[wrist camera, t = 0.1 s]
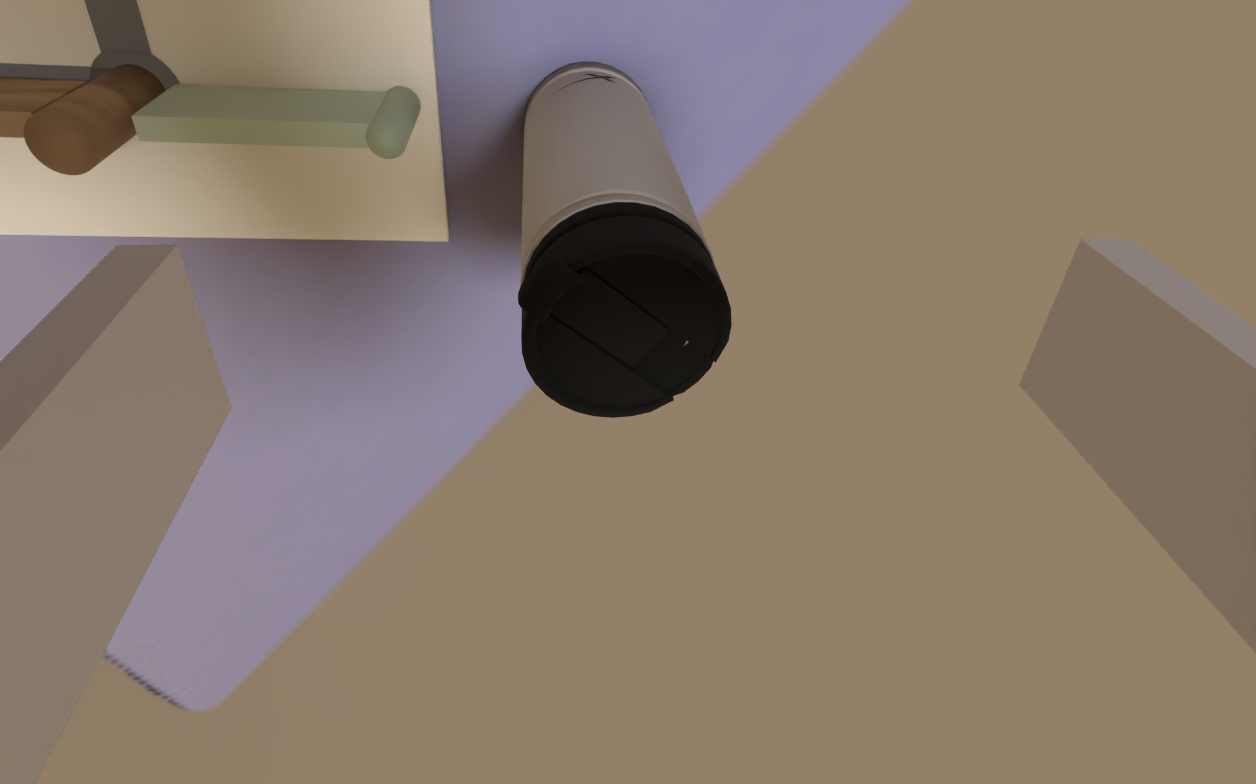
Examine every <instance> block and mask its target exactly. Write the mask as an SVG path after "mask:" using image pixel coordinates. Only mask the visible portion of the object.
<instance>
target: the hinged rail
mask: <svg viewBox="0 0 1256 784" xmlns="http://www.w3.org/2000/svg"><path fill="white" fill-rule="evenodd" d="M420 110H421V103H420V100H419V98H418V96H417V94H416V93H415V92H414V91H413V90H411V89H409V88H407V87H404V86H397V87H394V88H392V89H390V90H389V91H388V92H364V91H338V90H312V89H285V88H259V87H233V86H207V85H181V84H175V85H173V86H172V87H171V88H169V89H168V90H166V91H165V92H164V93H162V94H161V95H159V96H158V97H157V98H155V99H154V100H152V101H151V102H150V103H148V104H147V105H145V106H144V107H143V108H141V109H140V110H139V111H137V112H136V113H134V114H133V115H132V116H131V117H132V120H133V123H134V126H135V130H136V133H137V136H138V139H139V141H147V142H180V143H214V144H248V145H281V146H315V147H348V148H370V150H371V151H372V152H373V153H374V154H375V155H377V156H379V157H381V158H384V159H394V158H397V157H399V156H400V155H402V154H403V152H404V151H405V149H406V146H407V143H408V141H409V138H410V136H411V133H412V131H413V128H414V126H415V123H416V121H417V118H418V116H419V113H420Z"/></svg>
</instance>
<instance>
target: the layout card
mask: <svg viewBox="0 0 1256 784" xmlns="http://www.w3.org/2000/svg"><path fill="white" fill-rule="evenodd" d="M122 64H134V65H138V66H141V67H143V68H145V69H147V70H148V71H150V72H151V73H153V74H154V75H155V76H156V77H157V78H158V79H159V80H160V82H161V83H162V85H163V86H164V88H165V91H166V90H168V89H169V88H171V87H172V86H173V85H175V84H181V85H207V86H233V87H259V88H285V89H312V90H338V91H364V92H388V91H389V90H390V89H392V88H394V87H397V86H404V87H407V88H409V89H411V90H413V91H414V92H415V93H416V94H417V96H418V98H419V100H420V103H421V110H420V113H419V116H418V118H417V121H416V123H415V126H414V128H413V131H412V133H411V136H410V138H409V141H408V143H407V146H406V149H405V151H404V152H403V154H402V155H400V156H399V157H397V158H394V159H384V158H381V157H379V156H377V155H375V154H374V153H373V152H372V151H371V150H370V148H348V147H315V146H281V145H248V144H214V143H180V142H147V141H139V139H138V136H137V134H136V135H135V136H134V137H133V138H131V139H130V140H129V141H127V142H126V143H125V144H123V145H122V146H121V147H120V148H118V149H117V150H116V151H114V152H113V153H112V154H111V155H109V156H108V157H107V158H105V159H104V160H103V161H101V162H100V163H99V164H98V165H96V166H95V167H94V168H92V169H91V170H90V171H88V172H87V173H84V174H81V175H66V174H62V173H58V172H56V171H53V170H52V169H50V168H48V167H46V166H45V165H43V164H42V163H41V162H40V161H39V160H37V159H36V157H35V156H34V155H33V154H32V153H31V151H30V150H29V148H28V146H27V144H26V142H25V139H24V138H12V137H0V234H1V235H65V236H129V237H193V238H257V239H321V240H385V241H448V240H449V227H448V214H447V202H446V189H445V176H444V164H443V151H442V139H441V126H440V113H439V101H438V88H437V75H436V63H435V50H434V38H433V25H432V12H431V0H0V78H25V79H51V80H77V81H87V83H89V82H91V81H92V80H94V79H96V78H98V77H99V76H101V75H103V74H105V73H106V72H108V71H110V70H112V69H113V68H115V67H117V66H119V65H122Z"/></svg>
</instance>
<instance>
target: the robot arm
mask: <svg viewBox="0 0 1256 784" xmlns="http://www.w3.org/2000/svg"><path fill="white" fill-rule="evenodd" d="M1019 385H1020V387H1021V388H1022V389H1023V390H1024V391H1025V392H1026V393H1027V395H1028V396H1029V397H1030V398H1031V399H1032V400H1033V401H1034V403H1035V404H1036V405H1037V406H1038V407H1039V408H1040V409H1041V410H1042V412H1043V413H1044V414H1045V415H1046V416H1047V417H1048V418H1049V419H1050V421H1051V422H1052V423H1053V424H1054V425H1055V426H1056V427H1057V428H1058V430H1059V431H1060V432H1061V433H1062V434H1063V435H1064V437H1065V438H1066V439H1067V440H1068V441H1069V442H1070V443H1071V444H1072V446H1073V447H1074V448H1075V449H1076V450H1077V451H1078V452H1079V454H1080V455H1081V456H1082V457H1083V458H1084V459H1085V460H1086V461H1087V463H1088V464H1089V465H1090V466H1091V467H1092V468H1093V470H1094V471H1095V472H1096V473H1097V474H1098V475H1099V476H1100V477H1101V479H1102V480H1103V481H1104V482H1105V483H1106V484H1107V485H1108V487H1110V488H1111V490H1112V491H1113V492H1114V493H1115V494H1116V496H1118V498H1119V499H1120V500H1121V501H1122V502H1123V504H1124V505H1125V506H1126V507H1127V508H1128V509H1129V510H1130V511H1131V513H1132V514H1133V515H1134V516H1135V517H1136V518H1137V519H1138V521H1139V522H1140V523H1141V524H1142V525H1143V526H1144V527H1145V528H1146V530H1147V531H1148V532H1149V533H1150V534H1151V535H1152V536H1153V538H1154V539H1155V540H1156V541H1157V542H1158V543H1159V544H1160V546H1161V547H1162V548H1163V549H1164V550H1165V551H1166V552H1167V553H1168V555H1169V556H1170V557H1171V558H1172V559H1173V560H1174V561H1175V563H1176V564H1177V565H1178V566H1179V567H1180V568H1181V569H1182V571H1183V572H1184V573H1185V574H1186V575H1187V576H1188V577H1189V578H1190V580H1191V581H1192V582H1193V583H1194V584H1195V585H1196V586H1197V588H1198V589H1199V590H1200V591H1201V592H1202V593H1203V594H1204V595H1205V597H1206V598H1207V599H1208V600H1209V601H1210V602H1211V603H1212V605H1213V606H1214V607H1215V608H1216V609H1217V610H1218V611H1219V612H1220V614H1221V615H1222V616H1223V617H1224V618H1225V619H1226V621H1227V622H1228V623H1229V624H1230V625H1231V626H1232V627H1233V628H1234V630H1235V631H1236V632H1237V633H1238V634H1239V635H1240V636H1241V638H1242V639H1243V640H1244V641H1245V642H1246V643H1247V644H1248V645H1249V647H1250V648H1251V649H1252V650H1253V651H1254V652H1255V653H1256V327H1255V326H1254V325H1252V324H1251V323H1249V322H1248V321H1246V320H1245V319H1243V318H1242V317H1241V316H1239V315H1238V314H1236V313H1235V312H1233V311H1232V310H1230V309H1229V308H1227V307H1226V306H1224V305H1223V304H1222V303H1220V302H1219V301H1217V300H1216V299H1214V298H1213V297H1211V296H1210V295H1208V294H1207V293H1205V292H1204V291H1203V290H1201V289H1200V288H1198V287H1197V286H1195V285H1194V284H1192V283H1191V282H1189V281H1188V280H1186V279H1185V278H1184V277H1182V276H1180V275H1179V274H1177V273H1176V272H1175V271H1173V270H1172V269H1170V268H1169V267H1167V266H1166V265H1165V264H1163V263H1162V262H1160V261H1159V260H1157V259H1155V258H1154V257H1153V256H1151V255H1150V254H1148V253H1147V252H1146V251H1144V250H1143V249H1141V248H1139V247H1138V246H1137V245H1135V244H1134V243H1132V242H1131V241H1129V240H1128V239H1080V242H1079V244H1078V246H1077V249H1076V251H1075V253H1074V256H1073V258H1072V260H1071V263H1070V265H1069V267H1068V270H1067V272H1066V275H1065V277H1064V279H1063V282H1062V284H1061V286H1060V289H1059V291H1058V294H1057V296H1056V298H1055V300H1054V303H1053V305H1052V308H1051V310H1050V312H1049V315H1048V317H1047V319H1046V322H1045V324H1044V327H1043V329H1042V331H1041V334H1040V336H1039V338H1038V341H1037V343H1036V346H1035V348H1034V350H1033V353H1032V355H1031V357H1030V360H1029V362H1028V364H1027V367H1026V369H1025V371H1024V374H1023V376H1022V379H1021V381H1020V383H1019ZM230 409H231V404H230V401H229V398H228V395H227V392H226V389H225V386H224V383H223V380H222V377H221V374H220V371H219V369H218V366H217V363H216V360H215V357H214V354H213V351H212V348H211V345H210V342H209V339H208V336H207V333H206V330H205V327H204V324H203V321H202V318H201V315H200V312H199V309H198V306H197V303H196V300H195V297H194V294H193V291H192V288H191V285H190V282H189V279H188V276H187V273H186V270H185V267H184V264H183V261H182V259H181V256H180V253H179V250H178V247H177V245H127V246H116V247H115V248H114V249H113V250H112V251H111V252H110V253H109V254H108V255H107V256H106V257H105V258H104V259H103V260H102V261H101V262H100V263H99V264H98V265H97V266H96V267H95V268H94V269H93V270H92V271H91V272H90V273H89V274H88V275H87V276H86V277H85V278H84V279H83V280H82V281H81V282H80V283H79V284H78V285H77V286H76V287H75V288H74V289H73V290H72V291H71V292H70V293H69V294H68V295H67V296H66V297H65V298H64V299H63V300H62V301H61V302H60V303H59V304H58V305H57V306H56V307H55V308H54V309H53V310H52V311H51V312H50V313H49V314H48V315H47V316H46V317H45V318H44V319H43V320H42V321H41V322H40V323H39V324H38V325H37V326H36V327H35V328H34V329H33V330H32V331H31V332H30V333H29V334H28V335H27V336H26V337H25V338H24V339H23V340H22V341H21V342H20V343H19V344H18V345H17V346H16V347H15V348H14V349H13V350H12V351H11V352H10V353H9V354H8V355H7V356H6V357H5V358H4V359H3V360H2V361H1V362H0V784H36V782H37V780H38V778H39V776H40V774H41V772H42V770H43V768H44V766H45V764H46V763H47V761H48V759H49V757H50V755H51V753H52V751H53V749H54V747H55V745H56V743H57V741H58V739H59V738H60V736H61V734H62V732H63V730H64V728H65V726H66V724H67V722H68V720H69V718H70V716H71V714H72V713H73V711H74V709H75V707H76V705H77V703H78V701H79V699H80V697H81V695H82V693H83V691H84V690H85V688H86V686H87V684H88V682H89V680H90V678H91V676H92V674H93V672H94V670H95V668H96V666H97V664H98V663H99V661H100V659H101V657H102V655H103V653H104V651H105V649H106V647H107V645H108V643H109V642H110V640H111V638H112V636H113V634H114V632H115V630H116V628H117V626H118V624H119V622H120V620H121V618H122V617H123V615H124V613H125V611H126V609H127V607H128V605H129V603H130V601H131V599H132V597H133V595H134V594H135V592H136V590H137V588H138V586H139V584H140V582H141V580H142V578H143V576H144V574H145V572H146V570H147V569H148V567H149V565H150V563H151V561H152V559H153V557H154V555H155V553H156V551H157V549H158V547H159V545H160V544H161V542H162V540H163V538H164V536H165V534H166V532H167V530H168V528H169V526H170V524H171V522H172V521H173V519H174V517H175V515H176V513H177V511H178V509H179V507H180V505H181V503H182V501H183V499H184V497H185V496H186V494H187V492H188V490H189V488H190V486H191V484H192V482H193V480H194V478H195V476H196V474H197V473H198V471H199V469H200V467H201V465H202V463H203V461H204V459H205V457H206V455H207V453H208V451H209V449H210V448H211V446H212V444H213V442H214V440H215V438H216V436H217V434H218V432H219V430H220V428H221V426H222V424H223V423H224V421H225V419H226V417H227V415H228V413H229V411H230Z"/></svg>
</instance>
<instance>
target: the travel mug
mask: <svg viewBox="0 0 1256 784" xmlns="http://www.w3.org/2000/svg"><path fill="white" fill-rule="evenodd" d="M518 303H519V305H520V307H521V308H522V335H521V336H522V354H523V358H524V361H525V365H526V368H527V370H528V372H529V374H530V375H531V377H532V379H533V381H534V382H535V384H536V385H537V386H538V387H539V388H540V389H541V390H542V391H543V392H544V393H545V394H546V395H547V396H548V397H550V398H551V399H553V400H554V401H556V402H557V403H559V404H560V405H562V406H564V407H567V408H569V409H571V410H573V411H576V412H579V413H583V414H588V415H592V416H599V417H612V418H613V417H625V416H634V415H639V414H643V413H648V412H651V411H653V410H655V409H657V408H659V407H661V406H663V405H665V404H667V403H669V402H671V401H673V396H674V395H677V394H680V393H683V392H685V391H686V390H687V389H688V388H690V387H691V386H692V385H694V384H695V383H696V382H698V381H699V380H700V379H701V378H702V377H703V376H704V374H705V373H706V372H707V371H708V370H709V369H710V368H711V366H712V363H713V361H714V362H716V361H717V359H718V358H719V356H720V354H721V353H722V351H723V349H724V348H725V346H726V344H727V342H728V341H729V335H730V329H731V307H730V304H729V301H728V297H727V294H726V291H725V289H724V286H723V284H722V282H721V279H720V277H719V274H718V272H717V270H716V266H715V263H714V260H713V257H712V254H711V251H710V248H709V246H708V245H707V242H706V239H705V237H704V234H703V232H702V229H701V227H700V225H699V222H698V220H697V218H696V215H695V213H694V211H693V208H692V206H691V204H690V201H689V199H688V196H687V194H686V192H685V189H684V187H683V185H682V182H681V180H680V178H679V175H678V173H677V171H676V168H675V166H674V164H673V161H672V159H671V156H670V154H669V152H668V149H667V147H666V145H665V142H664V140H663V138H662V135H661V133H660V131H659V128H658V126H657V123H656V121H655V119H654V116H653V114H652V112H651V110H650V107H649V105H648V102H647V100H646V98H645V96H644V95H643V93H642V91H641V89H640V88H639V87H638V86H637V85H636V83H635V82H634V81H633V80H632V79H631V78H630V77H628V76H627V75H626V74H624V73H623V72H622V71H620V70H618V69H616V68H614V67H612V66H609V65H605V64H601V63H597V62H581V63H575V64H570V65H568V66H565V67H563V68H560V69H558V70H557V71H555V72H554V73H552V74H551V75H549V76H548V77H547V78H546V79H545V80H544V81H543V82H542V83H541V84H540V85H539V86H538V87H537V89H536V91H535V92H534V94H533V95H532V97H531V99H530V102H529V104H528V107H527V110H526V116H525V121H524V162H523V205H522V247H521V287H520V290H519V293H518Z"/></svg>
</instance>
